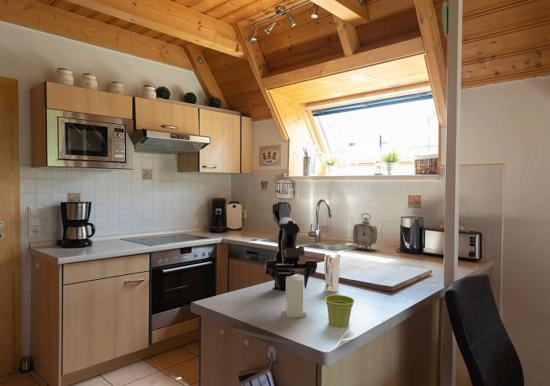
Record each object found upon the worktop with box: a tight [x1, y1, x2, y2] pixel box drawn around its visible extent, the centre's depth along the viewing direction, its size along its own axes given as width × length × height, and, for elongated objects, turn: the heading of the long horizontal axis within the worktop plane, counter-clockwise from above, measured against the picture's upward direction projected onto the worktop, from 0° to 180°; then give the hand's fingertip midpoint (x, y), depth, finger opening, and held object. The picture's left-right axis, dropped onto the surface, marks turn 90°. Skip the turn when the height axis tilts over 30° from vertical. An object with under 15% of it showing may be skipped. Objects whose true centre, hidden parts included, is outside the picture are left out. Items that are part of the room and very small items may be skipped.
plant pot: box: [324, 294, 355, 328], centre depth 122 cm, size 9×9×9 cm
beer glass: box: [323, 253, 342, 293], centre depth 162 cm, size 7×7×15 cm
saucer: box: [280, 310, 308, 320], centre depth 129 cm, size 9×9×1 cm
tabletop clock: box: [352, 213, 378, 252], centre depth 262 cm, size 14×9×25 cm, turn 53°
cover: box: [284, 275, 304, 317], centre depth 129 cm, size 5×5×12 cm
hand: (292, 288), depth 133 cm, fingers open, 9 cm apart
